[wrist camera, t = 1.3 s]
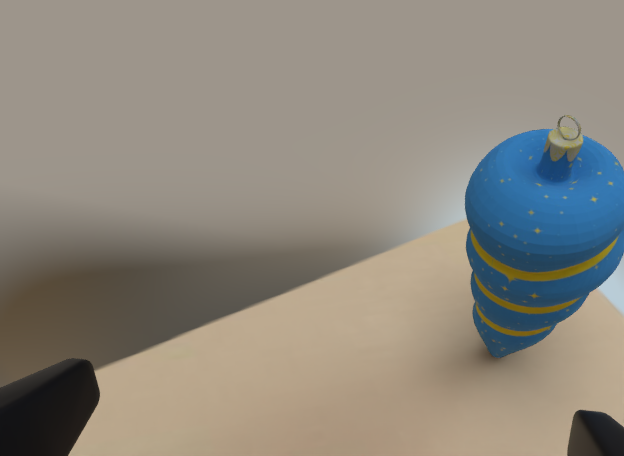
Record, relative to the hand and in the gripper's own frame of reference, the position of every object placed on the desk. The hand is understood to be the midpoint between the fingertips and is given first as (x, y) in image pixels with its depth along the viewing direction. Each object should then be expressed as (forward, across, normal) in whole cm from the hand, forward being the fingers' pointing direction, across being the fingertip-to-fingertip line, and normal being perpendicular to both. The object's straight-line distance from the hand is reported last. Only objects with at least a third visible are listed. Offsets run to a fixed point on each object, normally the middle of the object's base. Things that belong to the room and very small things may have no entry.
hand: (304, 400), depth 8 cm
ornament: (+15, -6, +9) cm, 19 cm away
